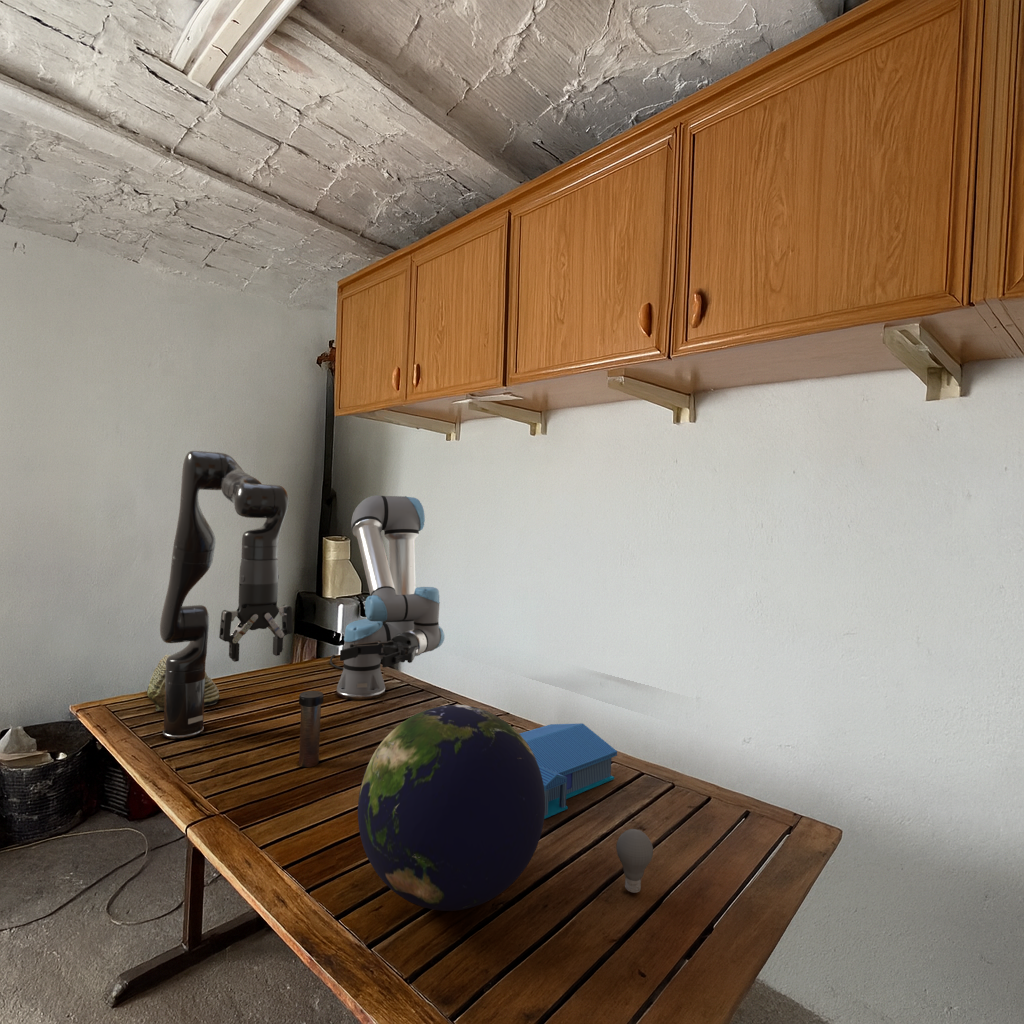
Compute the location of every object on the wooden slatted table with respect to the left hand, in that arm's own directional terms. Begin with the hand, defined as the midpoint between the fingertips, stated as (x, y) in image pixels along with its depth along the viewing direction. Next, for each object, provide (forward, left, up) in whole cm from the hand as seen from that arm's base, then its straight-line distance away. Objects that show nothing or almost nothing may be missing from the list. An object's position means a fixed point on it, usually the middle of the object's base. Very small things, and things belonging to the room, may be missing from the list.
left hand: (256, 657), depth 132 cm
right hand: (-13, +33, -8) cm, 36 cm away
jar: (-8, +17, -29) cm, 35 cm away
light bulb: (+71, +36, -29) cm, 85 cm away
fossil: (-67, +6, -29) cm, 73 cm away
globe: (+52, +12, -29) cm, 61 cm away
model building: (+33, +49, -29) cm, 66 cm away
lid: (-8, +17, -13) cm, 23 cm away
